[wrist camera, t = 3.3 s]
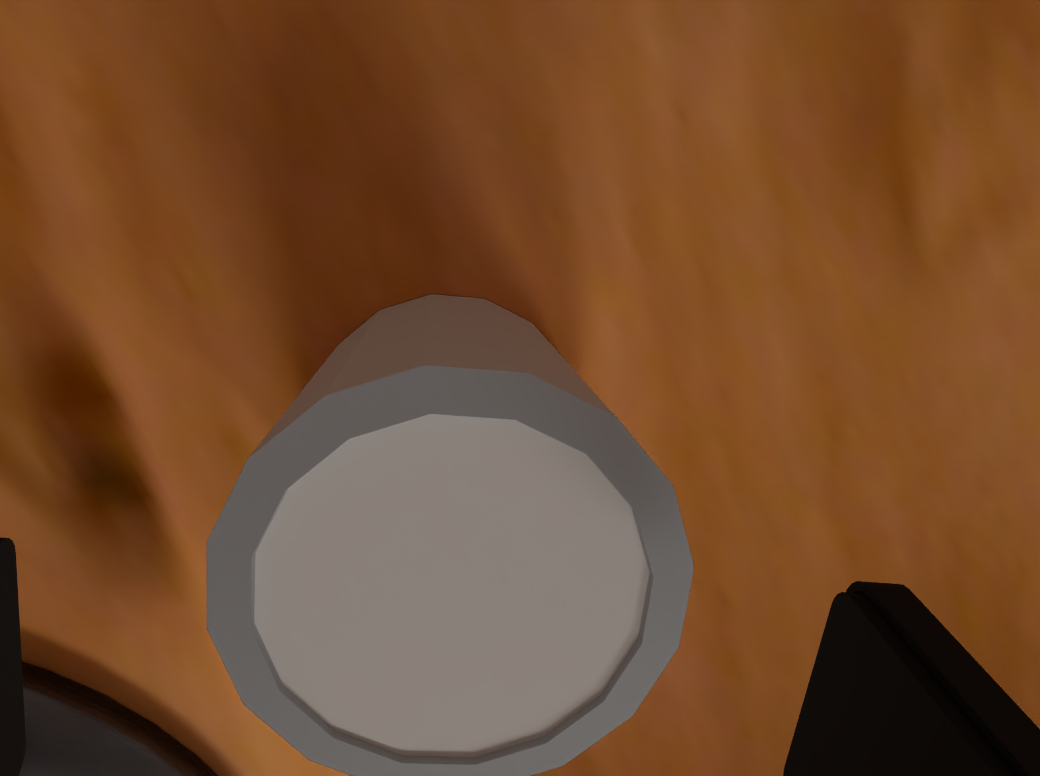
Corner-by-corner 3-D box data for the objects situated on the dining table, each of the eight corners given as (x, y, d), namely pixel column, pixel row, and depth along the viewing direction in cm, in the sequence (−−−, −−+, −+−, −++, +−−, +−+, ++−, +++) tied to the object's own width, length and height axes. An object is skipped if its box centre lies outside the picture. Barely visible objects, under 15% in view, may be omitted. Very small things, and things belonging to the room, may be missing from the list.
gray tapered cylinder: (311, 583, 20) (250, 829, 13) (254, 282, 18) (147, 398, 11) (614, 545, 20) (701, 766, 14) (596, 246, 18) (690, 338, 11)
